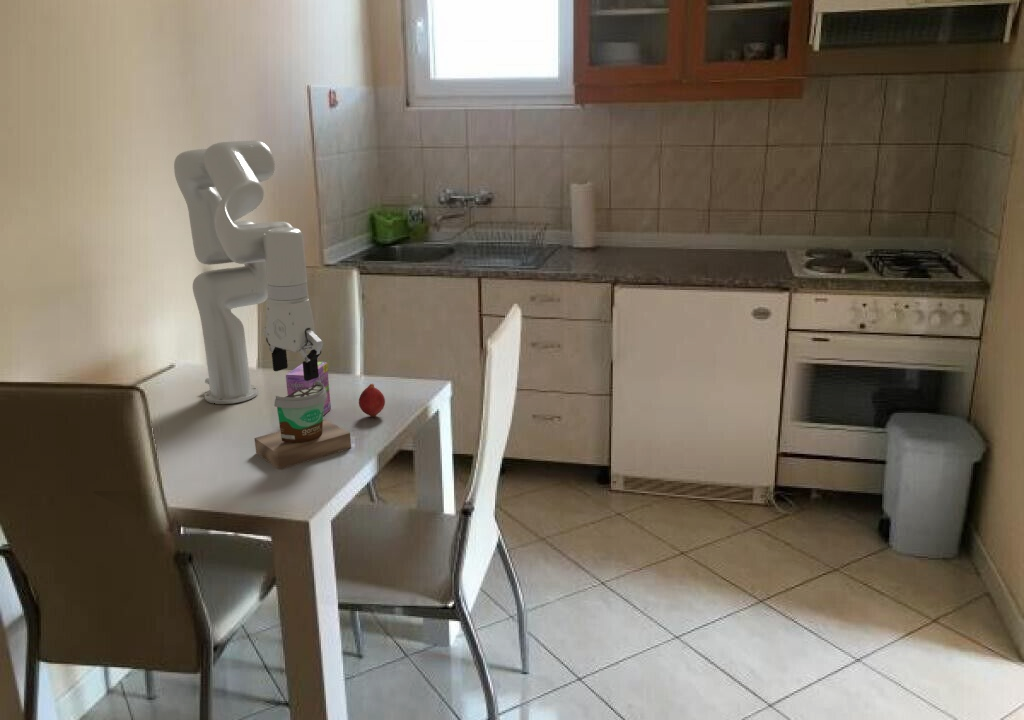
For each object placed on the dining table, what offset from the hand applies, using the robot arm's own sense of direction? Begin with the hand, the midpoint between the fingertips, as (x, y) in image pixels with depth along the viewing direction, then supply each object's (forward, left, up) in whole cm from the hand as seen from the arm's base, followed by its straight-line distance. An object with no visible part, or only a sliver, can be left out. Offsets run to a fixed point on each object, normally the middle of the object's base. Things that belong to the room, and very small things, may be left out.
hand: (295, 374), depth 171 cm
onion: (-2, +22, -17) cm, 28 cm away
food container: (+2, 0, -13) cm, 13 cm away
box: (-14, +14, -17) cm, 26 cm away
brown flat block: (0, 0, -17) cm, 17 cm away
